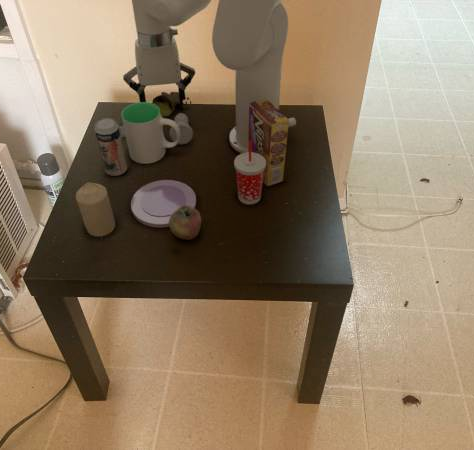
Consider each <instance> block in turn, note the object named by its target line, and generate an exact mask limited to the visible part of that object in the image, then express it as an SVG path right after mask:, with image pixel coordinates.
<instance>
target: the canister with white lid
mask: <svg viewBox="0 0 474 450" xmlns="http://www.w3.org/2000/svg"><path fill="white" fill-rule="evenodd" d="M119 126H120V125H119V123H117V121H115V119H114V118H111V117H103V118H101V119H98V120H97V121H96V122H95V126H94V132H95V136H96V140H97V144H98V147H99V152H100V155H101V159H102V163H103V167H104V171H105V173H106V174H107V175H109V176H120V175H123V174H124V173H126V171H127V170H128V164H127V158H126V154H125V150H124V145H123V139H122V137H121V135H120V130H119Z"/></svg>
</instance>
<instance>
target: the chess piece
mask: <svg viewBox="0 0 474 450" xmlns="http://www.w3.org/2000/svg"><path fill="white" fill-rule="evenodd" d="M173 121H174V122H176V124H177V125H178V126H179V129H180V134H181V135H180V140H179V142H178V144H177V145H180V146H181V145H186V144H189V143H190V142H191V141H192V139H193V136H194V131H193V128H192V127H191V125H189V118H188V115H187V114H186V113H182V112H179V113H177V114H176V115H175V116H174V120H173ZM168 134H169V138H170V139H171V141H172V142H175V141H176V140H177V133H176V131H175V129H174V128H173V127H172V126H170V129H169V132H168Z"/></svg>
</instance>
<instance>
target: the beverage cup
mask: <svg viewBox="0 0 474 450" xmlns="http://www.w3.org/2000/svg"><path fill="white" fill-rule="evenodd" d="M251 147H252V140H249V152H246V153H240V154H238V155H237V156H236V157H235V159H234V160H233V165H234V170H235V175H236V186H237V197H238V200H239V201H240V202H241V203H242V204H245V205H254V204H257V203H259V202H260V200H261V199H262V190H263V184H264V182H263V174H264V169H265V167H266V160H265V158H264V157H263V156H262V155H260V154H258V153H253V152H251Z"/></svg>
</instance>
